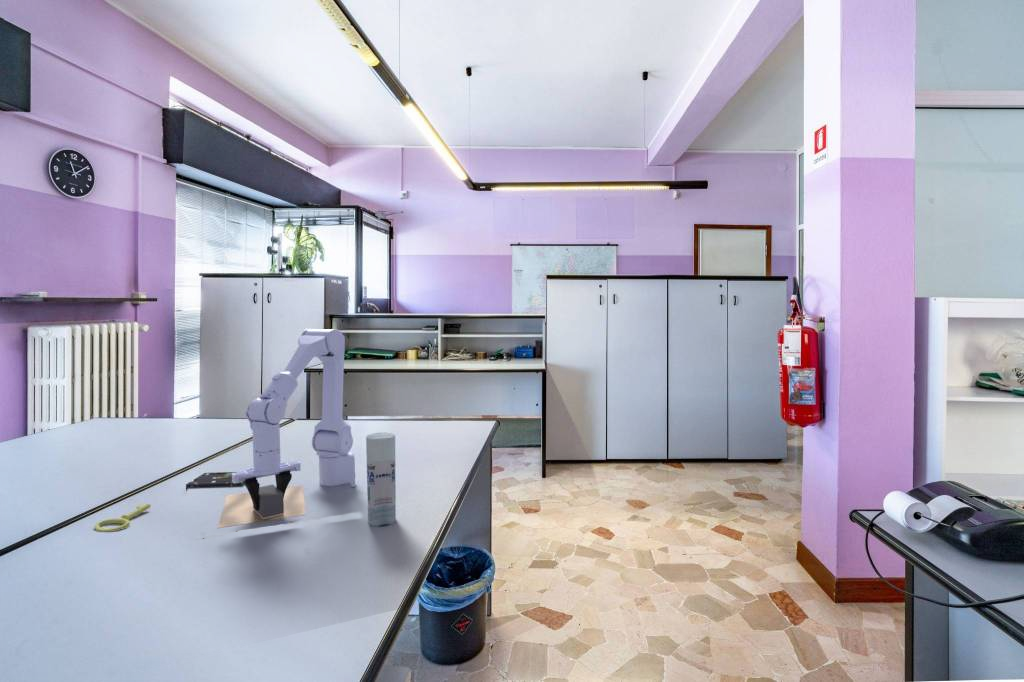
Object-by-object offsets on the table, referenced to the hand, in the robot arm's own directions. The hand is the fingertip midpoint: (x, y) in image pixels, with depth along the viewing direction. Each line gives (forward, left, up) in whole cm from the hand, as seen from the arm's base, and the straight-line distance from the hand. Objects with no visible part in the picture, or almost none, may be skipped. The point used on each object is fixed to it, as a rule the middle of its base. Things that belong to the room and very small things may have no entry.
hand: (268, 506), depth 120 cm
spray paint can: (-24, +13, -3) cm, 27 cm away
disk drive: (+12, -30, -3) cm, 33 cm away
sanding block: (0, 0, -1) cm, 1 cm away
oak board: (+1, -6, -3) cm, 7 cm away
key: (+30, -12, -3) cm, 33 cm away
